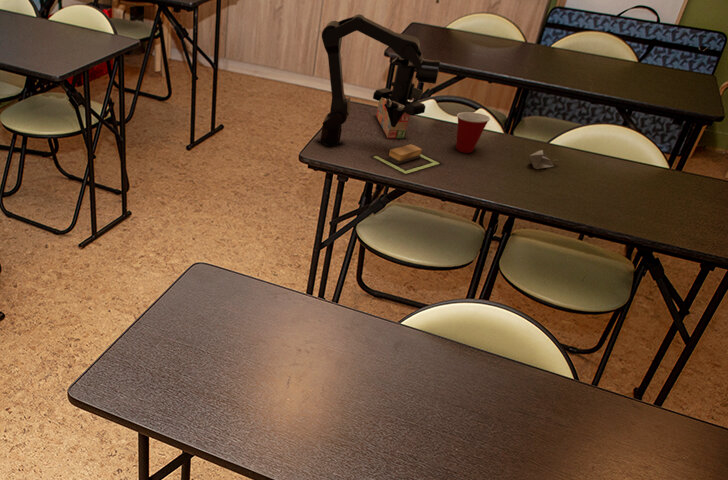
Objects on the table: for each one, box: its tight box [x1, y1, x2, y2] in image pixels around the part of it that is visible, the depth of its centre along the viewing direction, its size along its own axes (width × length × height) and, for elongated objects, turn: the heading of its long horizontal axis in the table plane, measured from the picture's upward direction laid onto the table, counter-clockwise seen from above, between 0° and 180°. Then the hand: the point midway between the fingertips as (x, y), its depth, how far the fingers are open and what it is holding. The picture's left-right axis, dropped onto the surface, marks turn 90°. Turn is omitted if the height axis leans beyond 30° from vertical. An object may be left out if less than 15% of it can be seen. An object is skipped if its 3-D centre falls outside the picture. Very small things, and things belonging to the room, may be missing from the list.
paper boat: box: [528, 149, 559, 170], centre depth 228 cm, size 12×6×9 cm
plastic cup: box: [455, 111, 491, 154], centre depth 237 cm, size 11×11×12 cm
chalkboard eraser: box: [388, 143, 423, 165], centre depth 233 cm, size 10×5×4 cm, turn 122°
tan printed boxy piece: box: [375, 98, 411, 139], centre depth 251 cm, size 21×6×12 cm, turn 0°
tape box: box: [373, 153, 440, 175], centre depth 233 cm, size 16×15×1 cm
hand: (393, 126), depth 233 cm, fingers closed
